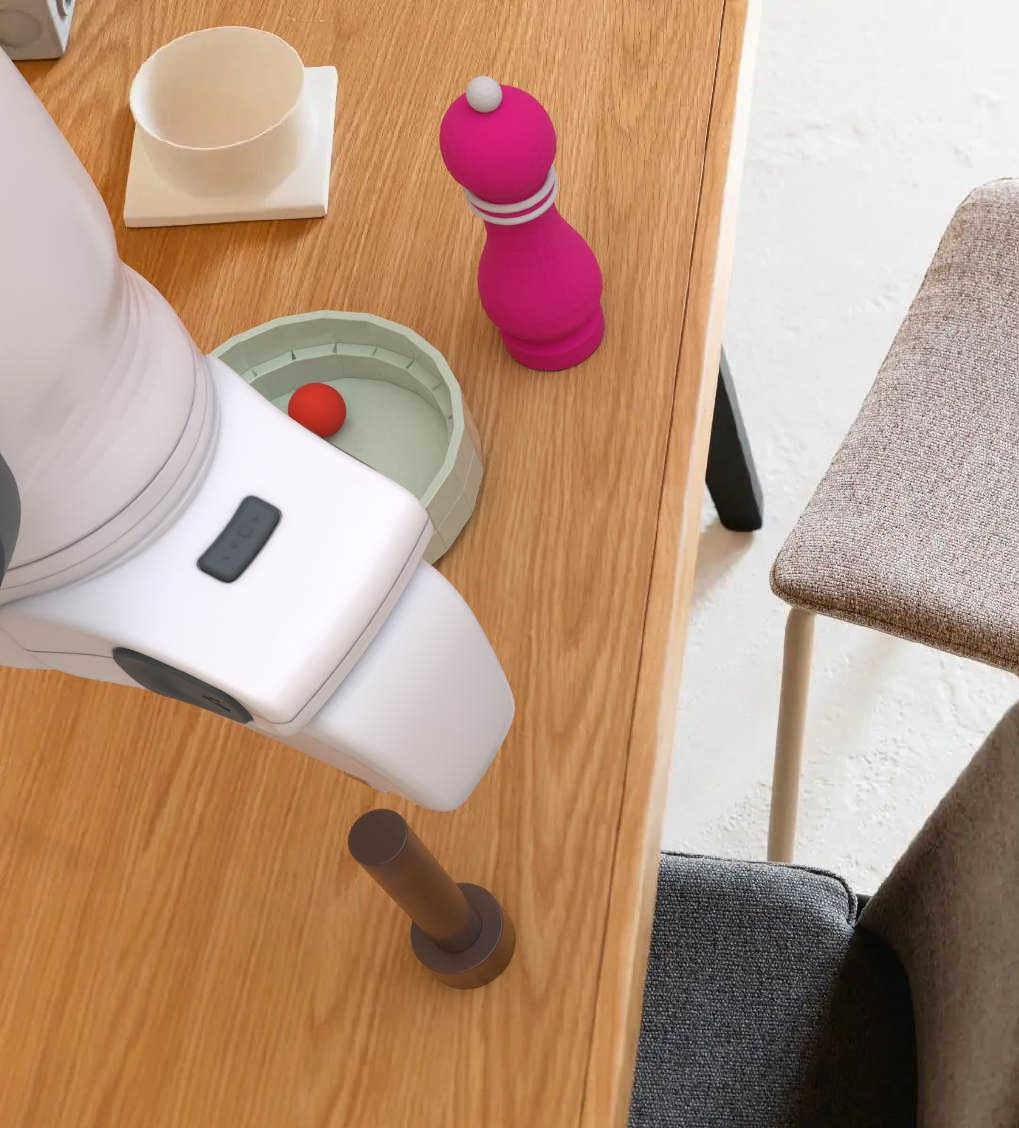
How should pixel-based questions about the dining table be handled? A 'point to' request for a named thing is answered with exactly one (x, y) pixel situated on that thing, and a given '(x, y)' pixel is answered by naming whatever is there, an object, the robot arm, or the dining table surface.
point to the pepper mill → (523, 227)
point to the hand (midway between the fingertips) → (260, 710)
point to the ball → (318, 408)
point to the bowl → (376, 403)
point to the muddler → (435, 903)
